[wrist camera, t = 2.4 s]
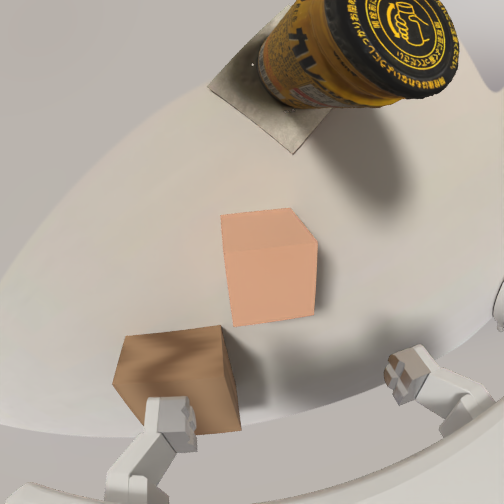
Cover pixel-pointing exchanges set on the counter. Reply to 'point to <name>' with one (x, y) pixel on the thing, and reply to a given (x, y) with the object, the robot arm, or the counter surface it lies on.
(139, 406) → the walnut box
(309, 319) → the counter surface
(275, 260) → the terracotta cube
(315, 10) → the condiment
